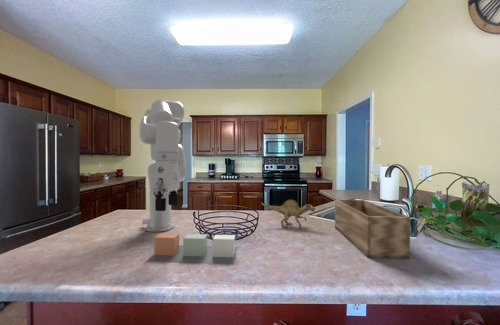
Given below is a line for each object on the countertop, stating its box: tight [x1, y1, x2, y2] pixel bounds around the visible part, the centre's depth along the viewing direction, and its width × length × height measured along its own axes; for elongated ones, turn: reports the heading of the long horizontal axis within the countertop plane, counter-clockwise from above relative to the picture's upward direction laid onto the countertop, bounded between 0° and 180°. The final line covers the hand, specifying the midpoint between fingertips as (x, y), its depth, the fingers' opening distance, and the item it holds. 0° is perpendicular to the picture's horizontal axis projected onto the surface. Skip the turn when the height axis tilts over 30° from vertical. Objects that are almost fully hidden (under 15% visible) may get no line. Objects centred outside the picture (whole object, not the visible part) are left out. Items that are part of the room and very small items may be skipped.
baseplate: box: [146, 244, 239, 265], centre depth 74 cm, size 28×13×1 cm, turn 87°
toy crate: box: [334, 199, 411, 260], centre depth 89 cm, size 14×32×14 cm, turn 177°
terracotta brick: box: [153, 232, 180, 256], centre depth 74 cm, size 7×4×6 cm, turn 87°
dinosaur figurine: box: [260, 199, 316, 229], centre depth 108 cm, size 8×26×13 cm, turn 80°
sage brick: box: [182, 233, 208, 257], centre depth 74 cm, size 7×4×6 cm, turn 87°
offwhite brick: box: [212, 234, 236, 257], centre depth 73 cm, size 7×4×6 cm, turn 87°
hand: (167, 207), depth 74 cm, fingers open, 9 cm apart
